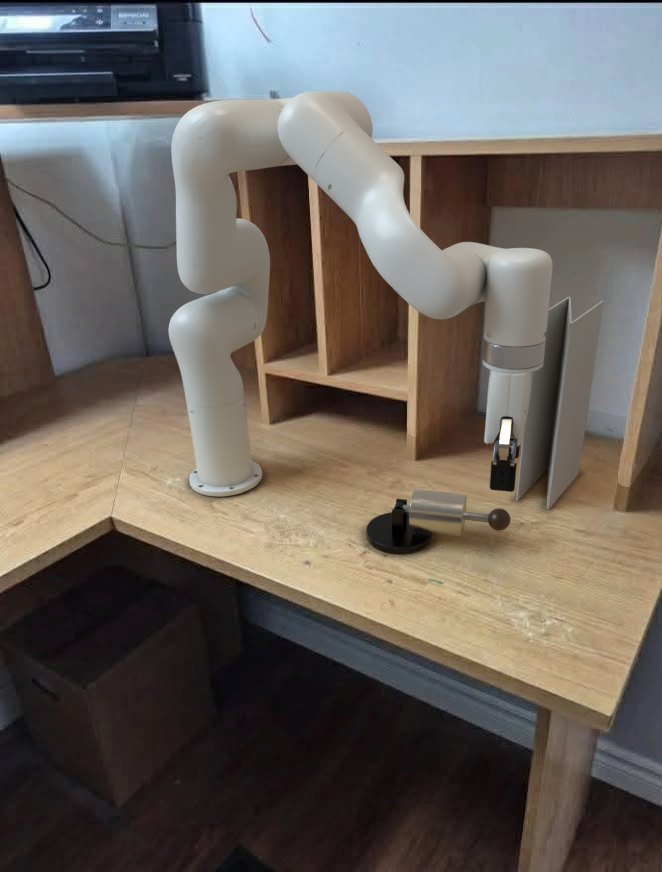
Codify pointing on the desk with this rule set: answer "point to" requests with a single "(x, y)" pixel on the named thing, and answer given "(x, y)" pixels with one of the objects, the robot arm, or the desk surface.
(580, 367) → the brochure
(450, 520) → the knobbed metal cylinder
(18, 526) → the desk surface
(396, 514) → the holder base
